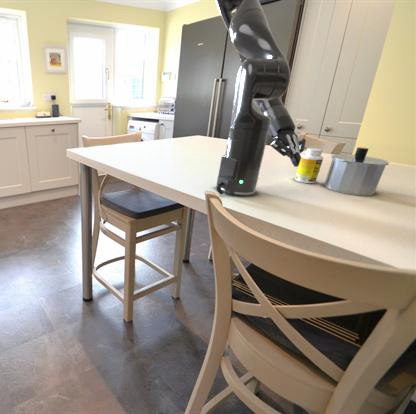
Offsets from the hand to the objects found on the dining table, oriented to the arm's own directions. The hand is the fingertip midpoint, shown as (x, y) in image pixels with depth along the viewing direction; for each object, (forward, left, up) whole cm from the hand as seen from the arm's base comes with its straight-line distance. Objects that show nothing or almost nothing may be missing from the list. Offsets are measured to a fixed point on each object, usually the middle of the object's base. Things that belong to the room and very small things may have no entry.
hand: (299, 165), depth 91 cm
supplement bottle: (0, -3, -5) cm, 6 cm away
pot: (+6, -13, -4) cm, 14 cm away
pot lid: (+6, -13, +4) cm, 14 cm away
